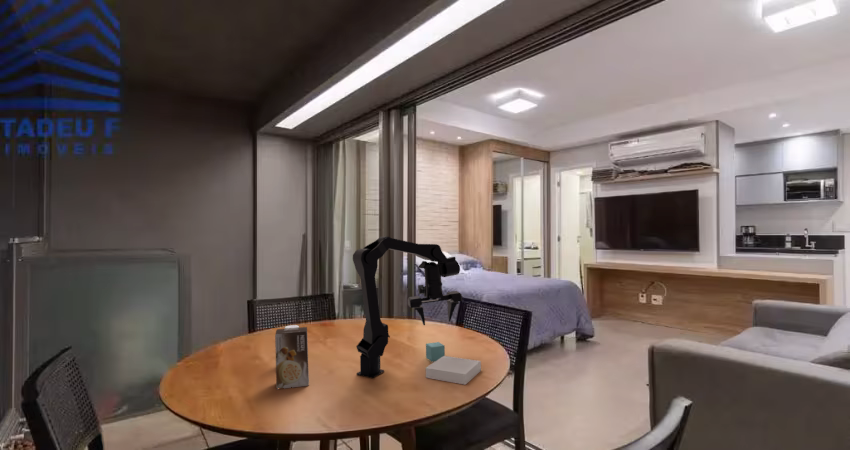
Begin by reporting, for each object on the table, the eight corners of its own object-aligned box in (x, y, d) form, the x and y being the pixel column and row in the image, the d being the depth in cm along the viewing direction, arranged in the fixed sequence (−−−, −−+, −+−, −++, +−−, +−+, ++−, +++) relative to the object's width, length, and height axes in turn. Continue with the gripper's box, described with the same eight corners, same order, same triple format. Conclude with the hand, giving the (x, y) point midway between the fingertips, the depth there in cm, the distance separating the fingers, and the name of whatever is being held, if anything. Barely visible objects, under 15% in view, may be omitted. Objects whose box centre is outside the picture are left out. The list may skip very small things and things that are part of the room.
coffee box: (309, 378, 122) (308, 326, 122) (308, 386, 116) (308, 331, 116) (277, 382, 119) (276, 328, 120) (275, 390, 113) (274, 333, 113)
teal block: (431, 362, 135) (431, 347, 136) (426, 357, 140) (425, 343, 140) (444, 360, 137) (444, 345, 137) (438, 355, 142) (438, 342, 142)
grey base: (465, 384, 115) (465, 374, 115) (425, 377, 121) (425, 367, 121) (480, 370, 126) (480, 361, 126) (444, 364, 132) (443, 355, 132)
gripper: (451, 273, 149) (455, 314, 149) (403, 279, 145) (406, 321, 145) (461, 277, 138) (464, 321, 138) (408, 283, 134) (412, 329, 134)
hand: (436, 323), depth 139 cm, fingers open, 9 cm apart
